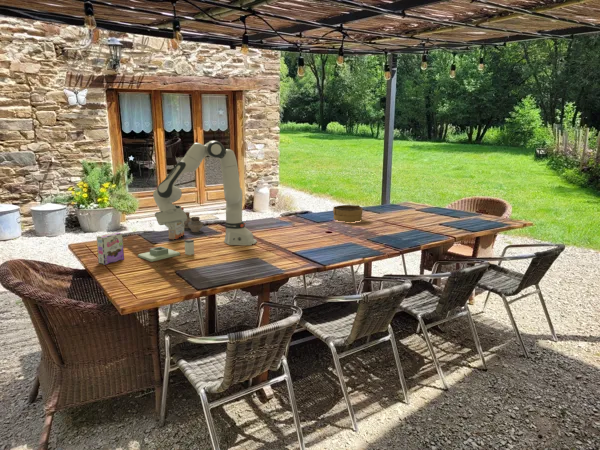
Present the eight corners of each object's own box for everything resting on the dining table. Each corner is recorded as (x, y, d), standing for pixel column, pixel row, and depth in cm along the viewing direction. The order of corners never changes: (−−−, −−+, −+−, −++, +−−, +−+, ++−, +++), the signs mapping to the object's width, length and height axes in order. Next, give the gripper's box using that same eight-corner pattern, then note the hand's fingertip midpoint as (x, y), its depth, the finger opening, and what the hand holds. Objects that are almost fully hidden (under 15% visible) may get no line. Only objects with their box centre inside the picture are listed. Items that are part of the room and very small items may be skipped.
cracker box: (176, 239, 328) (175, 210, 323) (168, 239, 329) (166, 210, 324) (185, 235, 341) (183, 207, 337) (177, 234, 343) (176, 206, 338)
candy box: (104, 265, 270) (102, 237, 267) (98, 263, 273) (95, 236, 270) (124, 259, 282) (122, 232, 278) (118, 257, 285) (116, 231, 281)
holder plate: (166, 250, 302) (166, 243, 301) (180, 254, 292) (179, 247, 291) (138, 256, 287) (137, 249, 286) (151, 261, 278) (151, 254, 277)
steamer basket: (331, 222, 389) (332, 209, 387) (334, 217, 413) (334, 204, 411) (361, 224, 385) (362, 211, 383) (362, 218, 410) (363, 206, 407)
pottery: (190, 225, 372) (189, 211, 369) (206, 231, 354) (205, 216, 351) (177, 227, 365) (176, 212, 362) (192, 233, 346) (192, 218, 344)
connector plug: (190, 252, 297) (189, 239, 296) (194, 253, 295) (193, 240, 293) (185, 253, 295) (184, 240, 293) (188, 255, 292) (188, 241, 290)
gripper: (155, 209, 294) (164, 227, 290) (182, 205, 309) (192, 222, 305) (151, 215, 298) (161, 233, 294) (179, 211, 313) (188, 228, 309)
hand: (177, 227), depth 299 cm, fingers open, 8 cm apart
